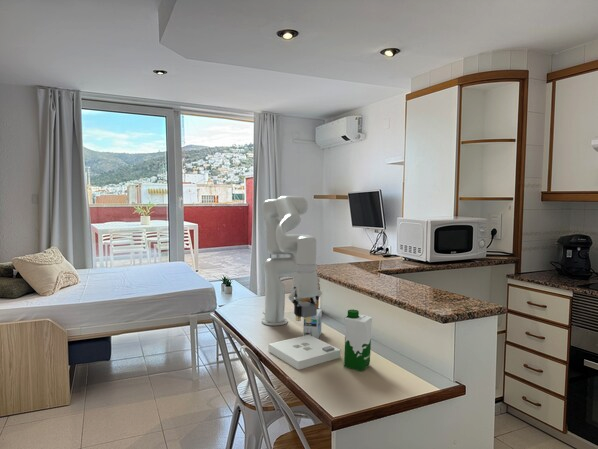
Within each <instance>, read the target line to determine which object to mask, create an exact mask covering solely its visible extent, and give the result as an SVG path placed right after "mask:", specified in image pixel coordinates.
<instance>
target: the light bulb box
mask: <svg viewBox="0 0 598 449" xmlns="http://www.w3.org/2000/svg"><path fill="white" fill-rule="evenodd" d="M322 313H323V309H319V308H318V309H317V315H316V316H311V323H307V322H306V319H304V318H303V329H302V330H303V331H302V333H303V334H302V336H305V335H311V336H313V337H315V338H317V339H319V338H320V336H321V335H322V325H323V324H322V321H323V320H322V319H323V318H322V316H323V314H322ZM319 340H320V339H319Z"/></svg>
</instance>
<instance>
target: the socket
mask: <svg viewBox="0 0 598 449" xmlns="http://www.w3.org/2000/svg"><path fill="white" fill-rule="evenodd" d="M267 352H269V353H270V354H272V355H273V356H275V357H277V358H279V359H280V360H282V361H283V362H285V363H286V364H288V365H289V366H291V367H293V368H294V369H297V370H303V369H306V368H309V367H312V366H313V367H314V366H316V365H319V364H323V363H326V362H330V361H334V360H336V359H339V358H341V352H342V351H341V349H339V348H338V347H336V346H334V345H332V344H329V343H328V342H325V341H324V340H321V339H317V338H315V337H313V336H311V335H305V336H303V335H302V336H297V337H292V338H287V339H285V340H284V339H283V340H279V341H276V342H275V341H274V342H270V343H268V350H267Z"/></svg>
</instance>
